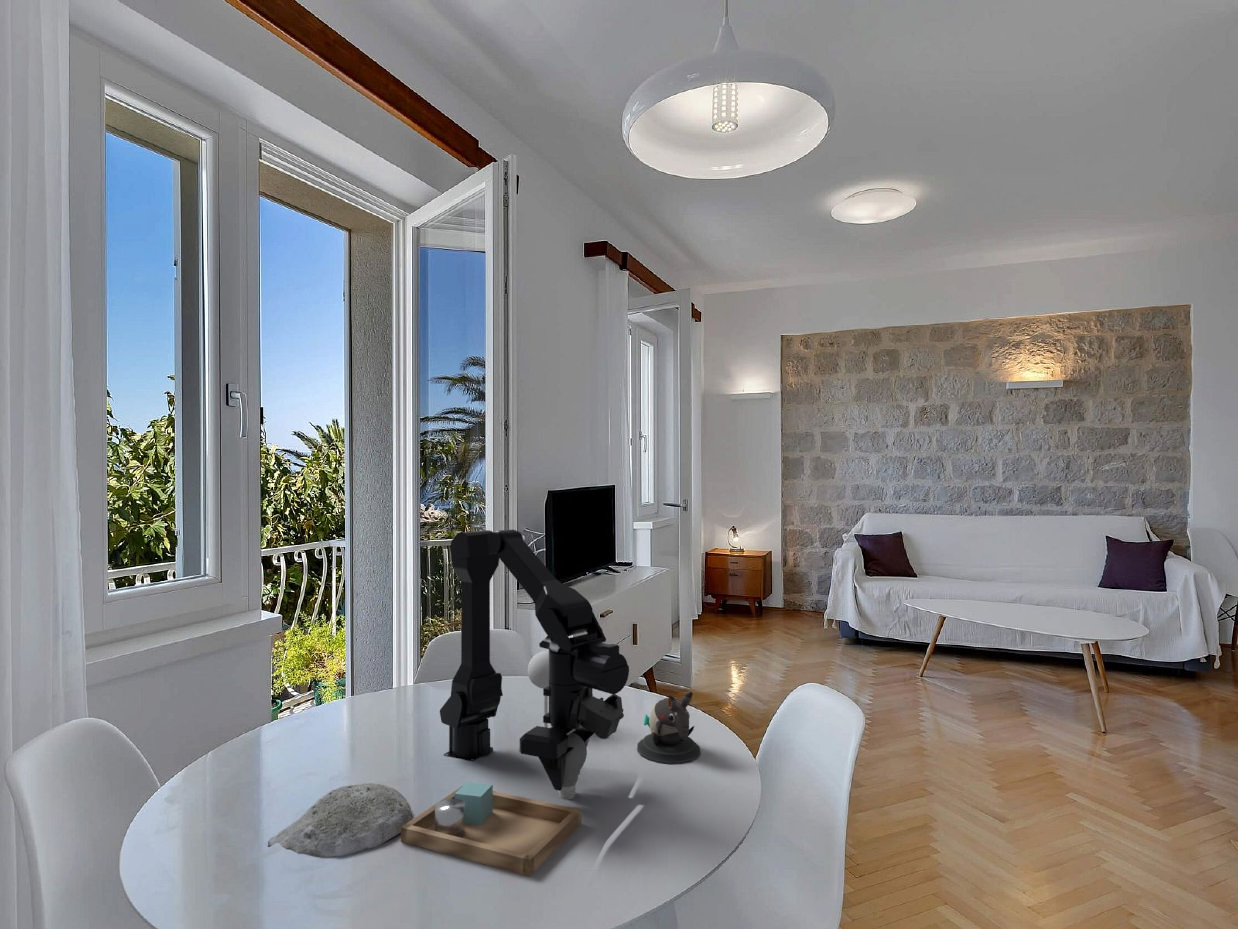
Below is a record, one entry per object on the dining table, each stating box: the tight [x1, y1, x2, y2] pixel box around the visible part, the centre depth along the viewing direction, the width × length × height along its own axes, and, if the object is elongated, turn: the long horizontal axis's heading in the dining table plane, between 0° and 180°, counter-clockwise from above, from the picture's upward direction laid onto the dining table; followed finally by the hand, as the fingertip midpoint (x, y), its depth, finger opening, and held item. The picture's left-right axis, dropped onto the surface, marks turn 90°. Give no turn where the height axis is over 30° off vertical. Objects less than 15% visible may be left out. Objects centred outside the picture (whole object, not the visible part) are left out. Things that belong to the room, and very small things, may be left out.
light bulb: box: [558, 733, 588, 800], centre depth 107 cm, size 6×6×10 cm
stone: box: [267, 782, 414, 858], centre depth 97 cm, size 18×8×15 cm
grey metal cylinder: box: [435, 799, 465, 838], centre depth 95 cm, size 4×4×4 cm
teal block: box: [455, 781, 494, 825], centre depth 100 cm, size 4×4×4 cm
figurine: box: [636, 691, 702, 765], centre depth 125 cm, size 11×12×12 cm
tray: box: [400, 786, 583, 877], centre depth 95 cm, size 20×14×2 cm
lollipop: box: [527, 650, 549, 728], centre depth 137 cm, size 7×7×15 cm
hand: (567, 782), depth 107 cm, fingers closed on light bulb, 5 cm apart
